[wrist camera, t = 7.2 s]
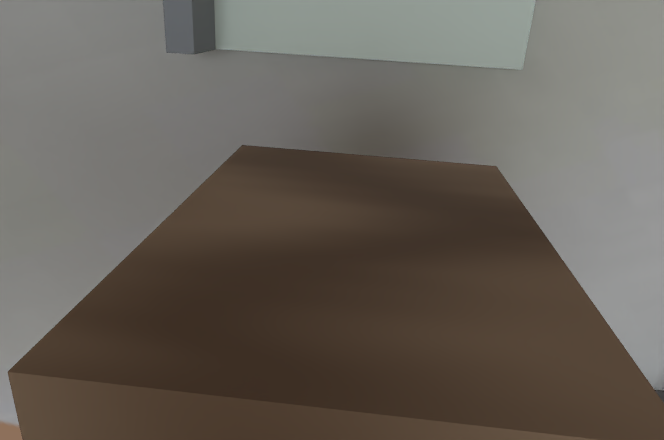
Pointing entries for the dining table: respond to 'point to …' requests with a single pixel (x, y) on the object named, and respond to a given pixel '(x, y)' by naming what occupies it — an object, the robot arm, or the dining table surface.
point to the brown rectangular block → (338, 318)
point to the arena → (357, 29)
